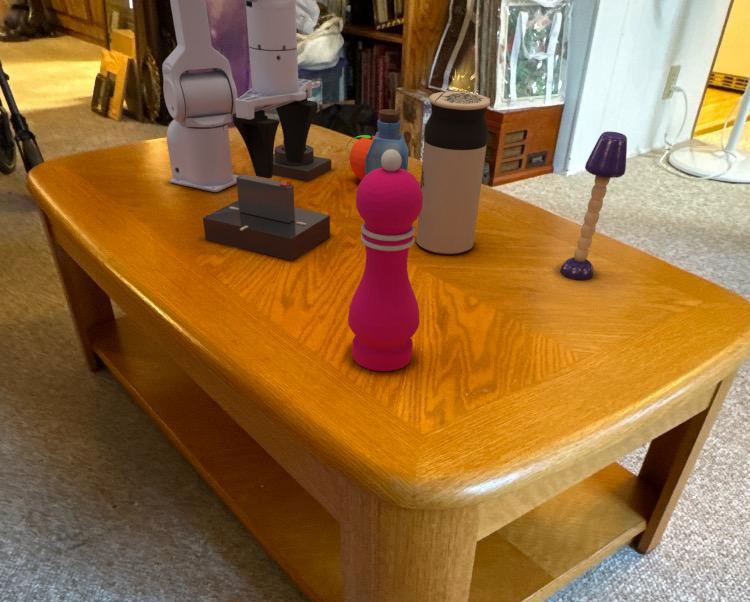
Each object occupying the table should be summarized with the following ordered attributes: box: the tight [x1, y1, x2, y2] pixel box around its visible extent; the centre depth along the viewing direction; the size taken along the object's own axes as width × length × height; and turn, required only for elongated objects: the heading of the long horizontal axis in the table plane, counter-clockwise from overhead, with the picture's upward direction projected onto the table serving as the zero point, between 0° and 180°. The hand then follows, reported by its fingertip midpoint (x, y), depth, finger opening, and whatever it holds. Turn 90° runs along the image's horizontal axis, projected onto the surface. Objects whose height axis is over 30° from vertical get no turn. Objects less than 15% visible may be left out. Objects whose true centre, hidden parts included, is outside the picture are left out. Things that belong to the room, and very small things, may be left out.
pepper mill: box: [347, 149, 423, 372], centre depth 65 cm, size 7×7×20 cm
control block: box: [272, 144, 332, 183], centre depth 116 cm, size 10×8×4 cm
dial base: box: [202, 200, 331, 262], centre depth 93 cm, size 14×12×3 cm
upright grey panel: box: [236, 174, 295, 223], centre depth 91 cm, size 8×2×5 cm, turn 63°
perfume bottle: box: [365, 108, 410, 176], centre depth 105 cm, size 6×6×12 cm
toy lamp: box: [560, 131, 628, 281], centre depth 83 cm, size 5×5×17 cm
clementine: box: [345, 134, 375, 181], centre depth 112 cm, size 8×7×7 cm
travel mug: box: [415, 91, 491, 255], centre depth 89 cm, size 8×8×18 cm
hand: (279, 169), depth 90 cm, fingers open, 7 cm apart
